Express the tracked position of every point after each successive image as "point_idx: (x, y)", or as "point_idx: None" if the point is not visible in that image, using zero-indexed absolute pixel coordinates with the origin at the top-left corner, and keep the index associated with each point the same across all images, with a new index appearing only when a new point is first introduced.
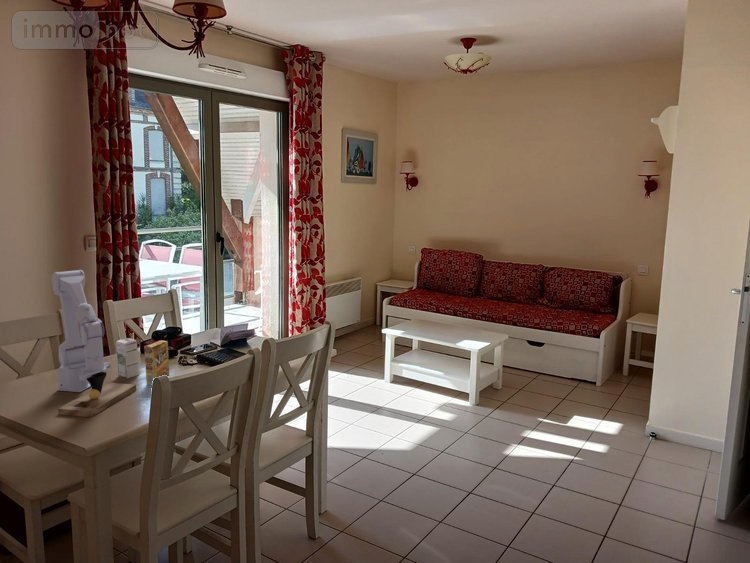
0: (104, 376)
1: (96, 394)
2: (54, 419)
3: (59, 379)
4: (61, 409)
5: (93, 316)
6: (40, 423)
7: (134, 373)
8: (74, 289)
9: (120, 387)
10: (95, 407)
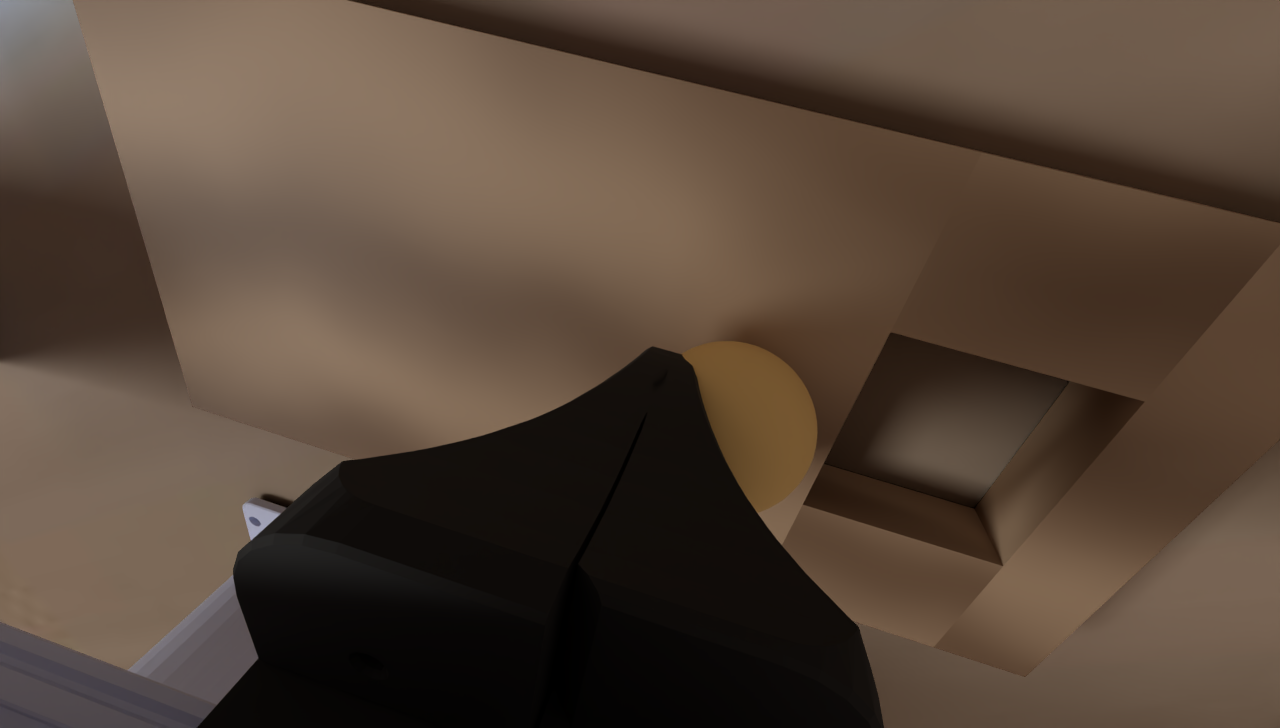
0: (476, 490)
1: (793, 389)
2: (1164, 621)
3: None
4: (1050, 643)
5: None
6: (1242, 701)
7: None
8: None
9: (252, 172)
10: (1203, 252)
